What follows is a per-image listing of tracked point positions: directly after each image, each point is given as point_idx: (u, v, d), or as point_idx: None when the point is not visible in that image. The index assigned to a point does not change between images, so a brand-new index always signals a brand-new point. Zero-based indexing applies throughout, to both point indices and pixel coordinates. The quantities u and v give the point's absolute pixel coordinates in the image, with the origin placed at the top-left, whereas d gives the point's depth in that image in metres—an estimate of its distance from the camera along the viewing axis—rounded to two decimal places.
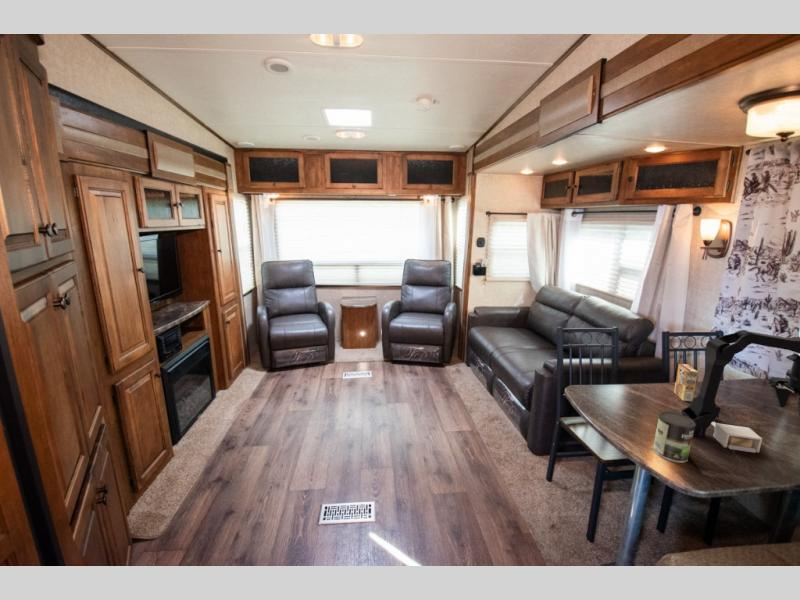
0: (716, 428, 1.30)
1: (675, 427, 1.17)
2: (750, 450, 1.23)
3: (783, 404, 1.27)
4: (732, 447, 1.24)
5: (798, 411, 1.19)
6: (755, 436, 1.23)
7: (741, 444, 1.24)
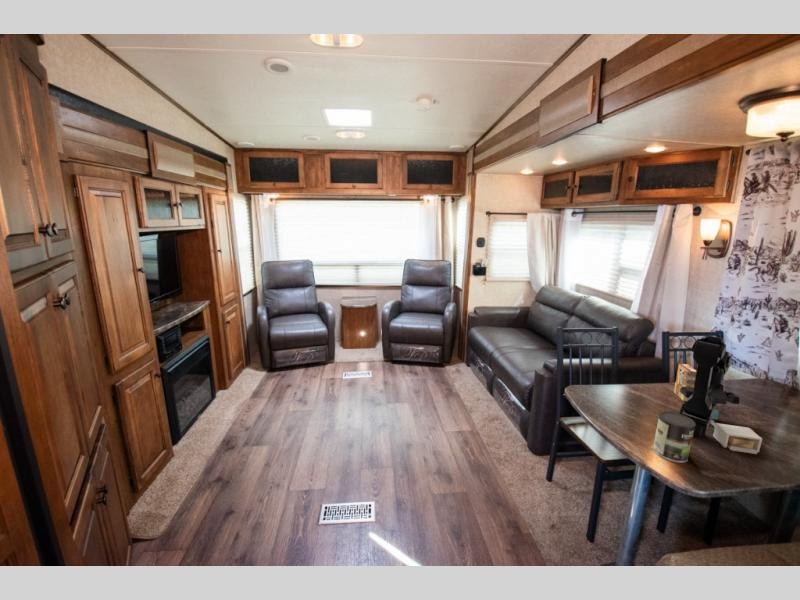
0: (716, 428, 1.30)
1: (675, 427, 1.17)
2: (752, 451, 1.22)
3: None
4: (733, 448, 1.23)
5: None
6: (755, 436, 1.23)
7: (742, 445, 1.23)
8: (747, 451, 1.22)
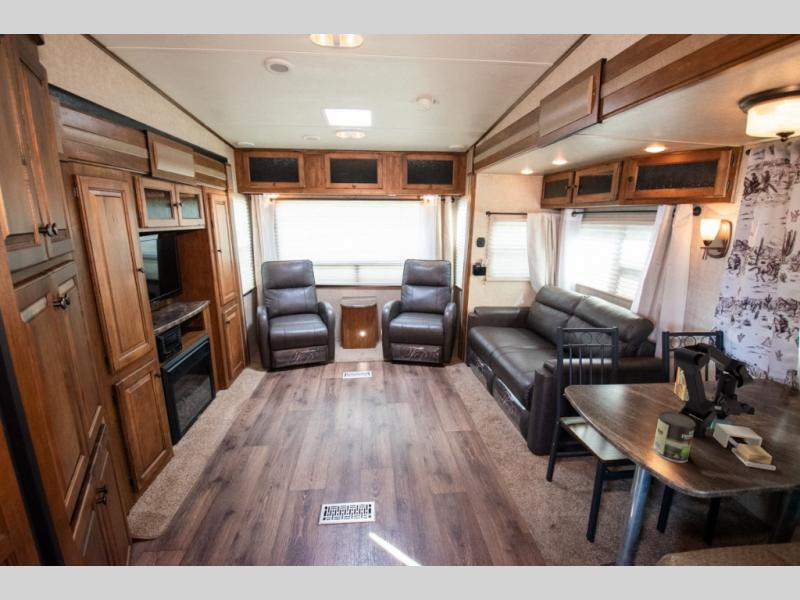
0: (716, 428, 1.30)
1: (675, 427, 1.17)
2: (769, 468, 1.14)
3: None
4: (750, 464, 1.15)
5: None
6: (755, 436, 1.23)
7: (759, 461, 1.15)
8: (764, 467, 1.14)
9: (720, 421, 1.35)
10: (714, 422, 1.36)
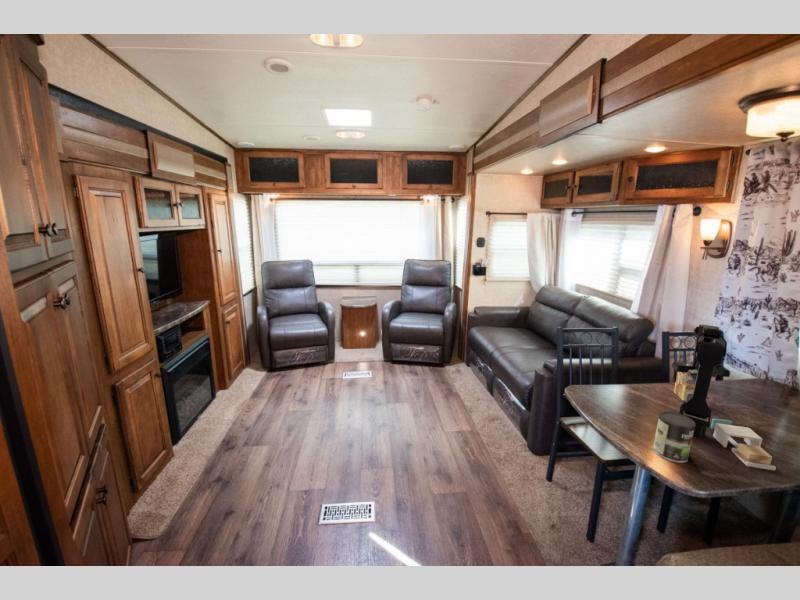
0: (716, 428, 1.30)
1: (675, 427, 1.17)
2: (769, 468, 1.14)
3: None
4: (750, 464, 1.15)
5: None
6: (755, 436, 1.23)
7: (759, 461, 1.15)
8: (764, 467, 1.14)
9: (720, 421, 1.35)
10: (714, 422, 1.36)
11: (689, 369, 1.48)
